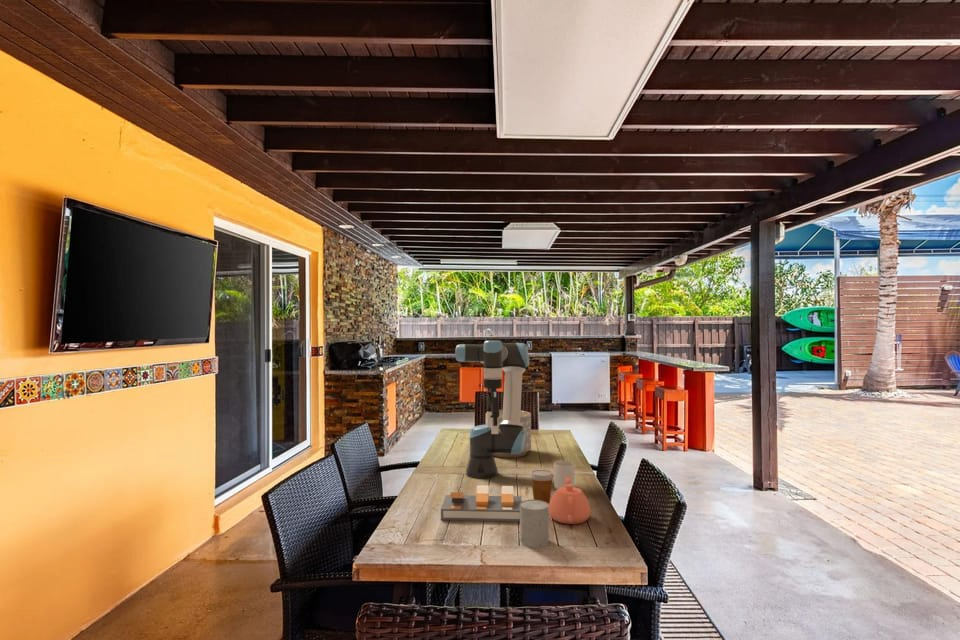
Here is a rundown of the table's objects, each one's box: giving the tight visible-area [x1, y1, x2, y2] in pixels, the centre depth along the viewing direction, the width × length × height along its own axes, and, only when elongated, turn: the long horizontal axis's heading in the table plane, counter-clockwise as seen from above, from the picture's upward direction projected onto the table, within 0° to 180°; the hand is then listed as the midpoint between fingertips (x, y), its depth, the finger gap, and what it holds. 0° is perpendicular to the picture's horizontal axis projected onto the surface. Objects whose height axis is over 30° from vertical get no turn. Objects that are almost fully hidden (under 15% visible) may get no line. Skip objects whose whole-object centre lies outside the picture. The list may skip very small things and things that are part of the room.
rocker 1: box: [450, 491, 465, 498], centre depth 200 cm, size 10×4×2 cm, turn 177°
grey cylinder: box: [519, 499, 550, 549], centre depth 174 cm, size 10×10×12 cm
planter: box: [485, 409, 532, 458], centre depth 294 cm, size 26×26×22 cm
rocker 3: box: [500, 485, 514, 507], centre depth 199 cm, size 10×4×2 cm, turn 177°
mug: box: [553, 460, 576, 490], centre depth 231 cm, size 12×9×11 cm
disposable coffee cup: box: [529, 469, 554, 504], centre depth 212 cm, size 10×10×12 cm
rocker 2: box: [475, 484, 490, 506], centre depth 200 cm, size 10×4×2 cm, turn 177°
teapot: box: [548, 477, 592, 525], centre depth 195 cm, size 22×16×12 cm
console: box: [440, 494, 523, 523], centre depth 200 cm, size 16×30×5 cm, turn 87°
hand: (492, 430), depth 214 cm, fingers open, 13 cm apart
